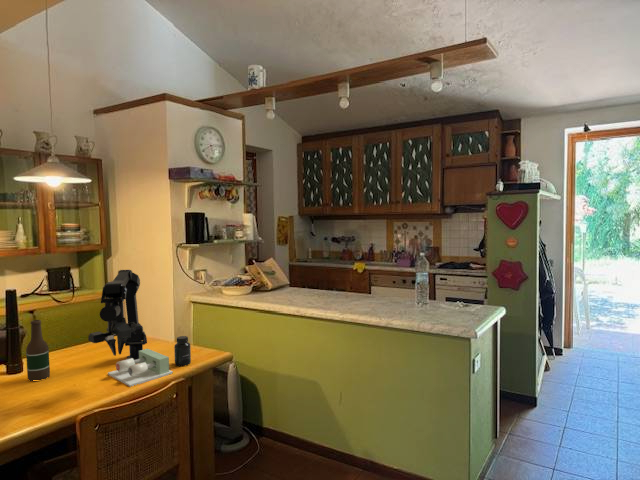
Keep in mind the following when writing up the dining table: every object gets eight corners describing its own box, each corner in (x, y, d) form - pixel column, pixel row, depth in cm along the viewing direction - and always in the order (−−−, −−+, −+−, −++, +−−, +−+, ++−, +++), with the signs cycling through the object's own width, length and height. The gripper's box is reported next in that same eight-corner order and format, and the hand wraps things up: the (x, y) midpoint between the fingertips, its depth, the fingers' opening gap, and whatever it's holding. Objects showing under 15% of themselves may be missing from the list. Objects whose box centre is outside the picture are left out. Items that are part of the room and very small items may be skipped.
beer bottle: (54, 375, 181) (51, 318, 179) (37, 382, 173) (33, 323, 172) (40, 373, 183) (37, 317, 182) (22, 380, 176) (19, 322, 174)
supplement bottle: (186, 367, 189) (185, 339, 188) (171, 366, 191) (170, 339, 190) (193, 361, 196) (192, 335, 195) (179, 360, 197) (178, 334, 196)
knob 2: (156, 366, 184) (156, 357, 184) (161, 368, 182) (161, 359, 181) (127, 375, 175) (127, 365, 175) (132, 377, 172) (132, 367, 172)
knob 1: (144, 362, 190) (143, 353, 189) (148, 364, 187) (148, 355, 187) (115, 370, 180) (114, 361, 180) (119, 373, 178) (119, 363, 177)
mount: (107, 374, 182) (107, 358, 181) (149, 362, 195) (148, 347, 195) (130, 386, 168) (129, 369, 168) (172, 373, 182) (172, 357, 181)
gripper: (99, 323, 156) (101, 366, 157) (148, 313, 170) (150, 353, 171) (86, 318, 164) (88, 359, 165) (135, 309, 178) (137, 347, 179)
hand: (117, 354), depth 170 cm, fingers closed
